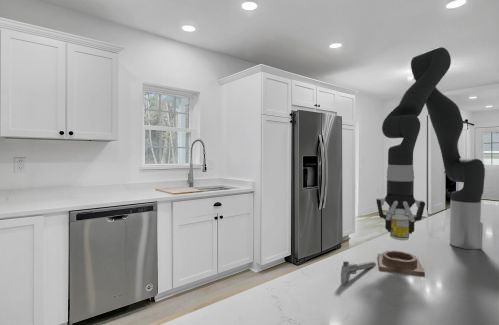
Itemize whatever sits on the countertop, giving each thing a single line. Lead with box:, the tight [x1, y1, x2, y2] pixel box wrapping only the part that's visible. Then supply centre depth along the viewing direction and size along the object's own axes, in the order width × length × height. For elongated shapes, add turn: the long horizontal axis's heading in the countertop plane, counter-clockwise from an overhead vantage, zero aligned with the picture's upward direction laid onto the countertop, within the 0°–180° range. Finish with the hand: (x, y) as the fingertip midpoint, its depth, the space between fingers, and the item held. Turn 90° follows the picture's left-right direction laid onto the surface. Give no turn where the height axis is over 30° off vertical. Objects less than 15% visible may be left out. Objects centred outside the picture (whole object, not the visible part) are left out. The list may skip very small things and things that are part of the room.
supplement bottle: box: [389, 209, 410, 241], centre depth 91 cm, size 5×5×10 cm
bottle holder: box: [377, 250, 426, 277], centre depth 92 cm, size 12×12×3 cm
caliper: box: [340, 260, 377, 286], centre depth 86 cm, size 21×1×6 cm, turn 134°
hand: (399, 231), depth 91 cm, fingers closed on supplement bottle, 5 cm apart
